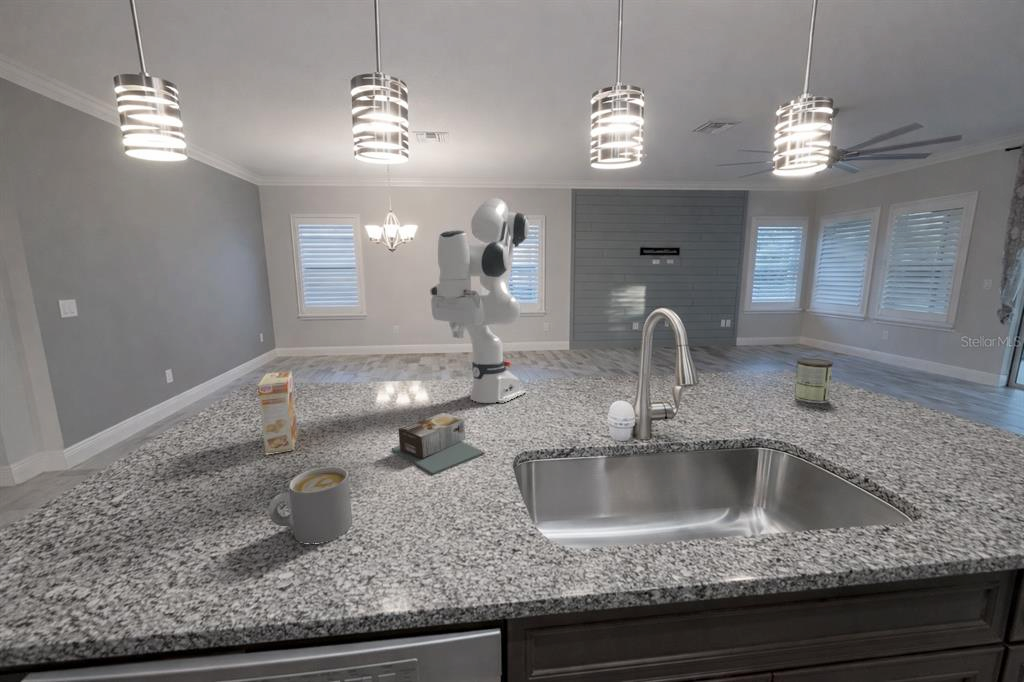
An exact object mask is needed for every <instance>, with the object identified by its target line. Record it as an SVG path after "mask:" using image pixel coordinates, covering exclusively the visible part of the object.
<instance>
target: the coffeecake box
mask: <svg viewBox="0 0 1024 682" xmlns="http://www.w3.org/2000/svg"><path fill="white" fill-rule="evenodd" d="M292 372H293V371H291V370H290V371H289V370H288V371H278V372H277V371H276V372H266V373H265V375H264V376H263V377H262V379H261V380H260V381H259V383H258V384H257V390H258V401H259V409H260V415H261V416H260V417H261V424H262V425H261V427H262V435H263V444H264V451H265V452H264V453H265V454H266V453H276V452H284V451H289V450H294V451H295V448H296V444H295V443H297V439H296V438H298V434H297V432H298V424H297V415H296V414H297V413H296V405H295V404H296V402H295V393H294V392H295V391H294V384H293V383H294V382H293V373H292ZM294 447H295V448H294Z"/></svg>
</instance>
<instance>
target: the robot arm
mask: <svg viewBox="0 0 1024 682" xmlns="http://www.w3.org/2000/svg"><path fill="white" fill-rule="evenodd" d="M470 221H471V223H470V228H471V233H472V234H473V236H474V237H475V238H476V239H478V241H480V243H479V242H477V243H469V241H468V235H467V233H466V231H464V230H449V231H444V232H442V233H440V234H439V236H438V241H437V264H438V267H439V271H440V272H439V278H438V281H439V282H438V284H436V285H434V286H432V287H431V288H430V289H429V294H430V296H432V297H431V299H430V300H431V314H432V317H433V319H434V320H436V321H443V322H448V323H449V327H450V330H451V332H452V337H453V338H455V339H464V337H465V336H464V335H465V333H464V332H465V330H466V331H467V333H468V335H469V337H470V340H471V345H472V346H471V347H472V359H473V360H472V364H471V365H472V366H471V371H472V376H473V377H472V378H473V379H472V386H471V393H470V397H469V399H470V400H471V401H472V400H473V401H472V402H475V401H476V403H481V404H495V403H496V402H499V404H505V403H504V402H506V403H508V402H507V401H509V400H511V399H513V398H515V397H517V396H519V395H521V394H523V393H525V392H526V393H527V391H526V390H525V389H524V388H521V384H520V380H519V378H518V377H517V376H516V375H514V374H513V373H512V372H510V371H508V369H507V367H509V368H510V367H511V366H512V362H511V361H510V360H506V361H504V360H503V358H504V357H503V343H502V339H501V338H500V337H499V336H497V335H495V334H494V333H493V332H492V331H491V330H490V327H489V326H498V327H499V326H503V327H504V326H509V325H514V324H516V322H517V321H518V320H519V318H520V316H521V311H522V310H521V306H520V302H519V301H518V299H517V298H516V297H514V296H513V294H512V293H511V292H510V287H509V284H510V277H511V273H512V267H513V260H514V247H515V248H516V247H519V245H520V244H521V243H523V242H525V240H526V239H527V238H528V234H529V232H530V222H529V218H528V217H527V215H526V214H524V213H521V212H511V211H509V208H508V205H507V203H505V201H504V200H502V199H501V198H497V197H492V198H489V199H487V200H485V201H484V202H483V203H482V204H481V205H479V207H478V208H477V209H476V210H475V212H474V214H473V216H472V218H471V220H470ZM472 277H479V281H480V284H481V286H482V287H483V288H484V289H485V290H487V291H489V292H488V294H486V295H484V294H483V295H482V294H481V295H480V294H479V293H478V292H477V291H476V290H472V279H471V278H472ZM515 399H516V398H515ZM513 400H514V399H513ZM511 401H512V400H511ZM509 402H510V401H509ZM496 404H497V403H496Z"/></svg>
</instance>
